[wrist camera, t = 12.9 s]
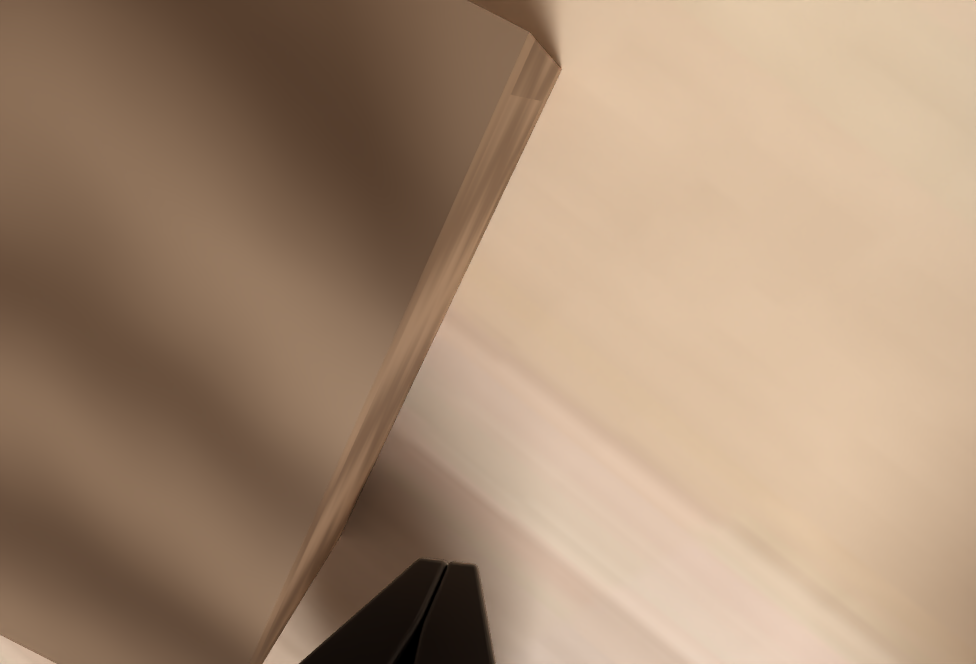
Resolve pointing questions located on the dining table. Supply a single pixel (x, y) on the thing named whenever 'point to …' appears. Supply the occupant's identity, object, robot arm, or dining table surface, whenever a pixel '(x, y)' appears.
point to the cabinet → (224, 293)
